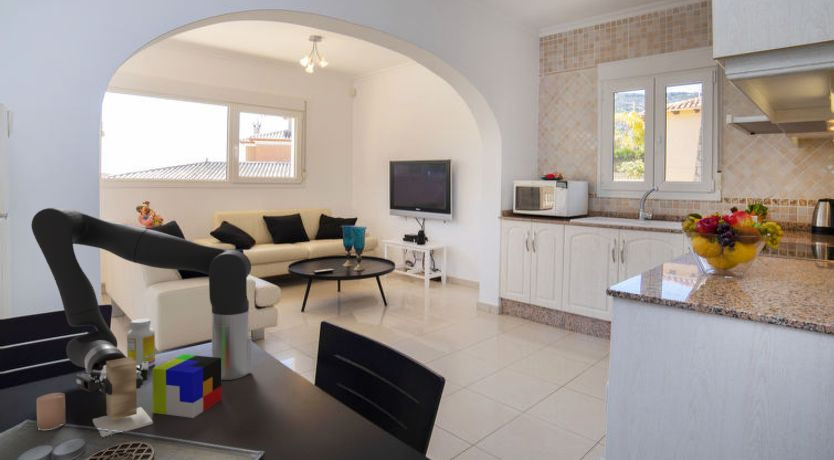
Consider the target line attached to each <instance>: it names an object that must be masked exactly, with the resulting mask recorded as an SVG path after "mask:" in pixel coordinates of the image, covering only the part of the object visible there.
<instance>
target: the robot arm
mask: <svg viewBox="0 0 834 460" xmlns="http://www.w3.org/2000/svg"><path fill="white" fill-rule="evenodd" d="M31 231H32V234H33V236H34V239H35V240H36V242H37V245H38V247H39V248H40V249H39V250H41V252H42V255H43V257H44V258H45V261H46V263H47V265H48V268H49V269H50V271H51V274H52V277H53V278H54V281H55V284H56V286H57V290H58V291H59V295H60V299H61V301H62V306H63V310H64V313H65V316H66V317H65V318H66V321H67V323H68V326H69V327H74V328H76V327H86V326H87V327H88V326H90V327H93V328H94V329H95V331H91V332H89V333H85V334H82V335H78V336H75V337H73V338H72V339H71V340H69V341H68V342H67V344H66V347H65V349H66V350H65V352H66V356H67V359H68V360H69V361H70V362H71V363H72V364H73V365H75V366H77V367H80V368H84V369H85V371H86V374H85V373H77V374H76V376H75V377H76V388H78V389H81V390H83V391H86V392H88V393H94V392H95V391H96V390H99V391H100V392H101V393H103V394H104V395H105V394H106V393H107V395H111V394H112V384H111V383H110V381H109V380H108V379H107V377H106V361H110V360H116V359H121V358H127V357H128V356H126V355H125V353H123V352H122V351H121V350H120V349H119V348H118V340H117V338H116V335H115V334H114V333H113V332H112V330H111V329H110V327H109V326H108V324H107V323H106V320H105V319H104V317H103V314H102V312H101V309H100V306H99V303H98V298H97V294H96V291H95V288H94V286H93V285H92V284H93V283H91V281H90V279H89V278H88V277H87V274H86V273H85V272H84V269H82V267H81V265H80V263H79V261H78V259H77V255H76V253H75V249H74V245H80V246H87V247H91V248H92V247H93V248H97V249H100V250H105V251H107V252H109V253H111V254H113V255H115V256H117V257H119V258H121V259H123V260H126V261H128V262H132V263H134V264H139V265H142V266H146V267H147V266H148V267H150V268H151V267H152V268H157V269H165V270H167V269H168V270H180V271H191V272H192V271H194V272H197V273H200V274H201V273H202V274H205V275H208V285H209V286H208V288H209V290H208V291H209V303H210V305H211V357H216V358H221V381H231V380H237V379H240V378H244V377H245V376H247V375H249V374H252V370H253V369H252V367H253V366H252V365H253V364H252V362H253V361H252V358H253V357H252V356H253V355H252V352H253V351H252V350H253V349H252V346H253V343H252V342H253V341H252V340H253V339H252V337H249V335H250V334H249V331H250V328H249V326H250V325H249V324H250V323H249V322H250V321H249V320H250V319H249V315H250V311H249V310H250V309H249V308H250V306H249V305H250V301H249V298H248V295H247V294H248V293H247V292H248V291H247V287H248V286H247V282H248V280H247V277H249V275H250V274H251V270H252V264H251V260H250V259H249V257H248V256H247V255H246V254H245V253H244V252H241V251H239V250H234V249H229V248H228V249H227V248H219V247H215V246H208V245H205V244H200V243H196V242H194V241H191V240H187V239H184V238H182V237H178V236H175V235H173V234H172V235H171V234H168V233H165V232H161V231H157V230H154V229H148V228H145V227H140V226H136V225H131V224H130V225H129V224H123V223H119V222H117V223H116V222H112V221H108V220H105V219H102V218H99V217H95V216H93V215H89V214H87V213H84V212H82V211H80V210H76V209H74V208H68V207H48V208H43V209H41V210H39V211H37V212H36V213H35V214H34V216H33V218H32V220H31ZM136 369H137V378H136V389H140V388H141V386H143V385H144V382H146V381H148V379H149V367H148V361H144V362H142V364H140V365H138V366H136Z"/></svg>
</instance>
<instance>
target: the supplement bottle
mask: <svg viewBox="0 0 834 460" xmlns="http://www.w3.org/2000/svg"><path fill="white" fill-rule="evenodd" d="M130 326H131V329H130V330H129V331H128V332H127V334H126V341H127V343H126V344H127V345H126V347H127V348H126V349H127V351H126V353H127V357H132V358H133V359H134V360H135V361H136V366H138V365H140V364H142V362H144V361H148V368H150V367H152V366H153V365H155V363H156V349H155V348H156V340H155V339H156V338H155V330H154V328H153V327H150V326H151V318H137V319H133V320H131V321H130Z"/></svg>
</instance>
